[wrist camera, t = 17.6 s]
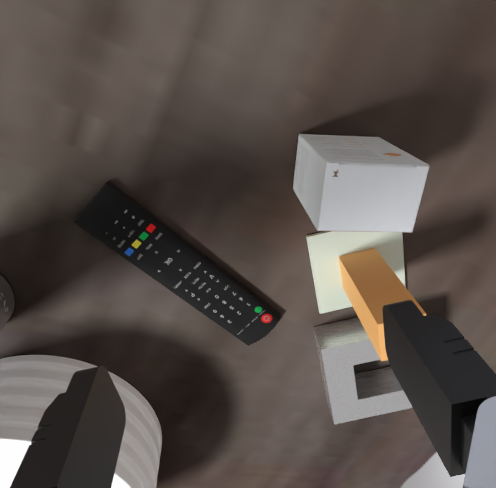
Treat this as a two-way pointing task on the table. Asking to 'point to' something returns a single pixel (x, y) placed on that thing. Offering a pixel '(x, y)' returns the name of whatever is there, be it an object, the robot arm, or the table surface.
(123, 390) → the plate stack
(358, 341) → the socket block
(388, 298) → the key peg
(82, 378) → the robot arm
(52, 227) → the table surface
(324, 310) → the mat
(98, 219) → the remote control
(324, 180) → the small box
